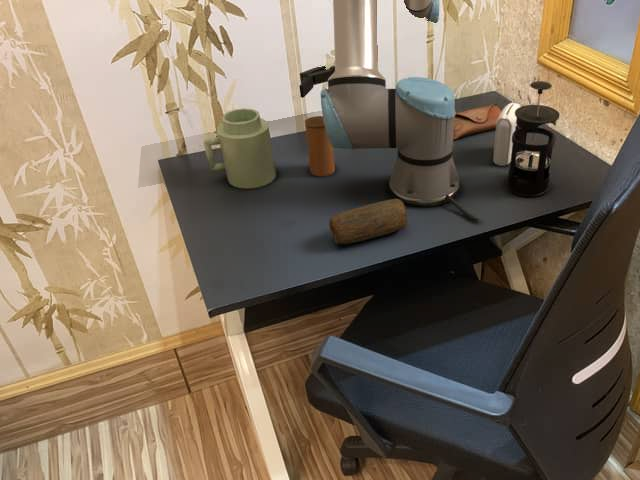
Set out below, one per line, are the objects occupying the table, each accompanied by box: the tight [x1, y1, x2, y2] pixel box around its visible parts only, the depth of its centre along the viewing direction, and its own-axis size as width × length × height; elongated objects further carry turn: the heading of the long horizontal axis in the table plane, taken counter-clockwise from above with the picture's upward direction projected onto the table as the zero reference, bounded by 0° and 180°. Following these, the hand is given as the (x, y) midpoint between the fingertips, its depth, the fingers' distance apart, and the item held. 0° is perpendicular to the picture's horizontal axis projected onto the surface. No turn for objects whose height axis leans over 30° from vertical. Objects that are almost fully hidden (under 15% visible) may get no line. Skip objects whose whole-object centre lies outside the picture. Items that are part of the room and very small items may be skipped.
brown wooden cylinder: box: [328, 198, 408, 245], centre depth 121 cm, size 15×7×7 cm, turn 117°
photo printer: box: [492, 102, 522, 167], centre depth 144 cm, size 10×4×12 cm, turn 157°
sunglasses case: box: [453, 103, 502, 140], centre depth 159 cm, size 18×7×7 cm, turn 118°
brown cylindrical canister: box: [304, 115, 336, 177], centre depth 140 cm, size 6×6×12 cm
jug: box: [203, 107, 277, 189], centre depth 137 cm, size 11×14×14 cm
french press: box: [505, 80, 561, 198], centre depth 130 cm, size 12×9×23 cm
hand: (329, 94), depth 140 cm, fingers open, 13 cm apart
